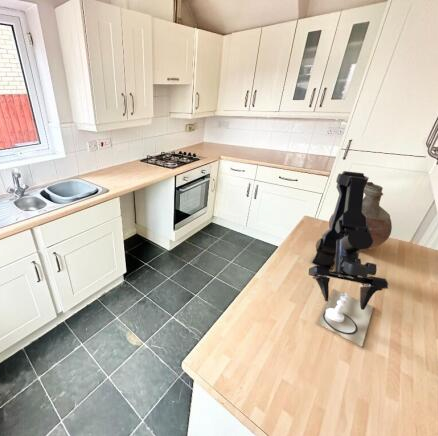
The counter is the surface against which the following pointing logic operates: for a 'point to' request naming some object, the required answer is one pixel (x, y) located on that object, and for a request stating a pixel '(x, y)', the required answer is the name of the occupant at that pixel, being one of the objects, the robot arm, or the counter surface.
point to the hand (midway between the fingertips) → (344, 305)
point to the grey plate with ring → (348, 319)
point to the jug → (375, 215)
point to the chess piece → (337, 310)
